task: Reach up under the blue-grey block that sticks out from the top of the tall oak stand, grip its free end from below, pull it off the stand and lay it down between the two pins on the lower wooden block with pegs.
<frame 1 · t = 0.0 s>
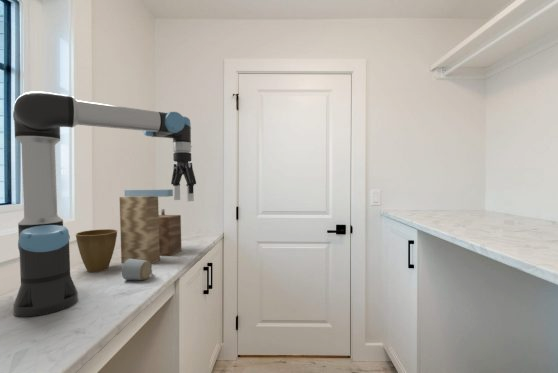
hand: (183, 200, 130), 28 cm above the worktop, tool pointing down, fingers open, 13 cm apart
grey short cylinder: (139, 278, 112), on the worktop
wooden block with pegs: (162, 253, 151), on the worktop
stand: (140, 261, 135), on the worktop
blue-grey block: (148, 196, 134), point 30 cm above the worktop, touching stand
plant pot: (98, 270, 124), on the worktop
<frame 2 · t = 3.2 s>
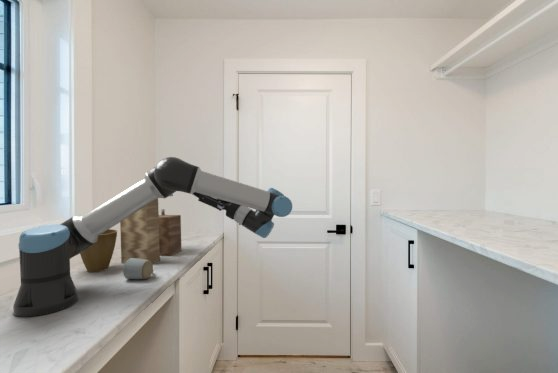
hand: (196, 187, 125), 34 cm above the worktop, tool pointing upward, fingers open, 13 cm apart
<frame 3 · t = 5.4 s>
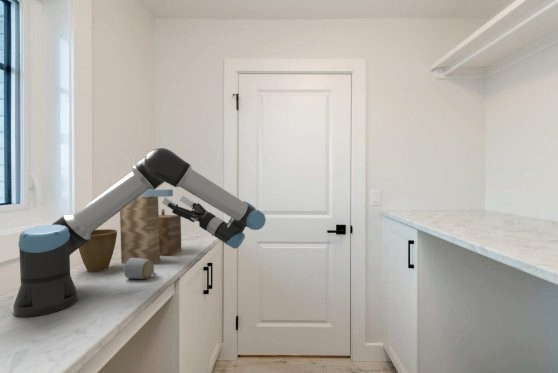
hand: (173, 199, 131), 29 cm above the worktop, tool pointing upward, fingers open, 13 cm apart
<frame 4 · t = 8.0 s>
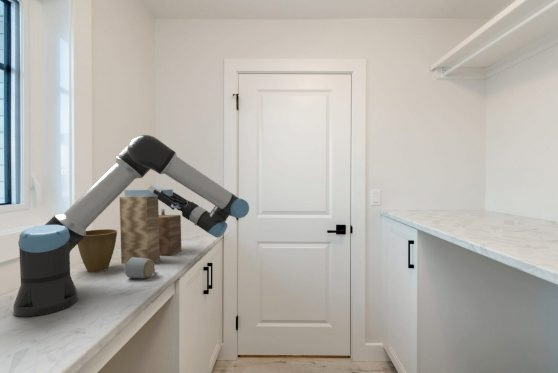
hand: (153, 187, 133), 34 cm above the worktop, tool pointing upward, fingers closed on blue-grey block, 4 cm apart
blue-grey block: (148, 196, 134), point 30 cm above the worktop, touching gripper, stand
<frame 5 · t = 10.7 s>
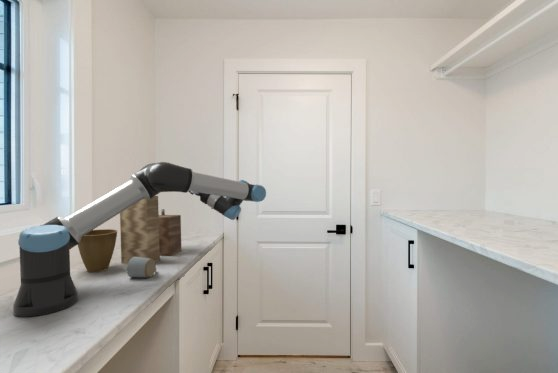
hand: (173, 174, 147), 40 cm above the worktop, tool pointing upward, fingers closed on blue-grey block, 4 cm apart
blue-grey block: (169, 183, 147), point 36 cm above the worktop, touching gripper
when the fingers open (25 cm above the worktop, at t = 13.5 s): blue-grey block drops 1 cm, resting on wooden block with pegs.
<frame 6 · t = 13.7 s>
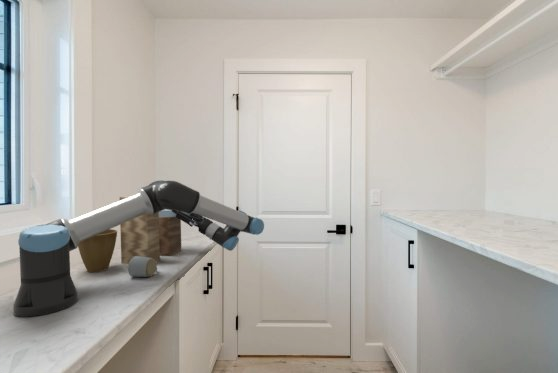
hand: (172, 205, 149), 25 cm above the worktop, tool pointing upward, fingers open, 7 cm apart
blue-grey block: (168, 216, 150), point 19 cm above the worktop, touching wooden block with pegs
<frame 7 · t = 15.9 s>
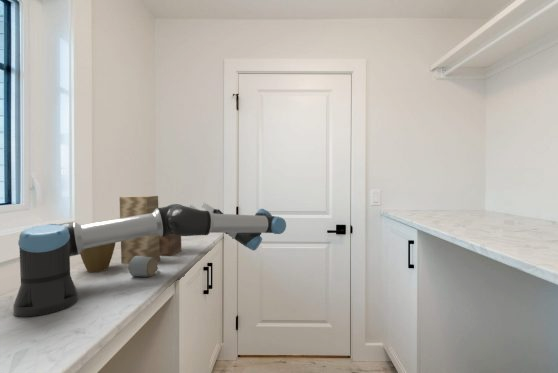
hand: (196, 205, 146), 24 cm above the worktop, tool pointing upward, fingers open, 13 cm apart
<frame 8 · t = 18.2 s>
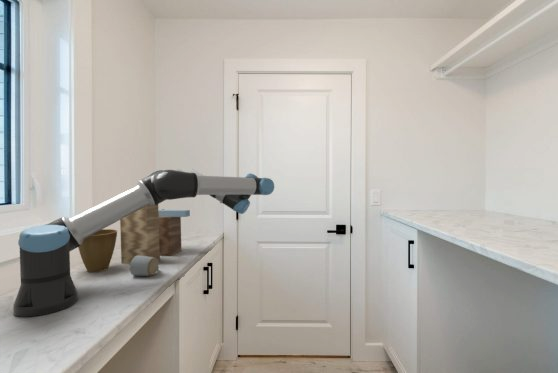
hand: (184, 171, 145), 42 cm above the worktop, tool pointing upward, fingers open, 13 cm apart
at the end: blue-grey block inside the target area on the wooden block with pegs (0.4 cm from its centre), point 19.0 cm above the wooden block with pegs's base; blue-grey block touching wooden block with pegs; the gripper is holding nothing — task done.
